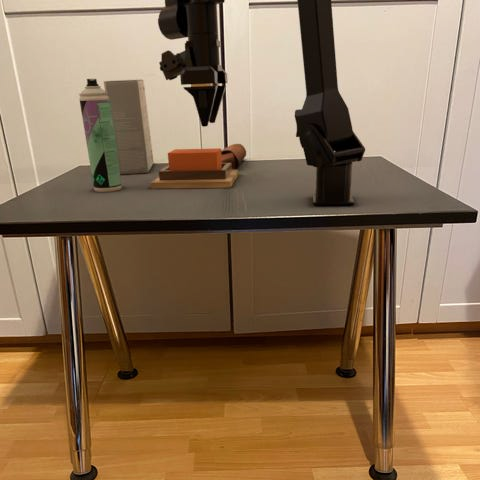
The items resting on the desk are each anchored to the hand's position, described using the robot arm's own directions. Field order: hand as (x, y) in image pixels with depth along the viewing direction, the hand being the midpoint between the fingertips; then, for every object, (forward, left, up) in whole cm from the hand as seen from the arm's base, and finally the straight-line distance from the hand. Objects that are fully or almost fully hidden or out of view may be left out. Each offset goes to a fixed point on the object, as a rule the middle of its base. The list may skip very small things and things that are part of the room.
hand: (208, 124), depth 97 cm
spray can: (-7, +20, -11) cm, 24 cm away
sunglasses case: (+21, 0, -11) cm, 24 cm away
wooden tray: (0, +3, -11) cm, 12 cm away
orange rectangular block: (-1, +3, -10) cm, 10 cm away
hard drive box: (+18, +22, -11) cm, 30 cm away
